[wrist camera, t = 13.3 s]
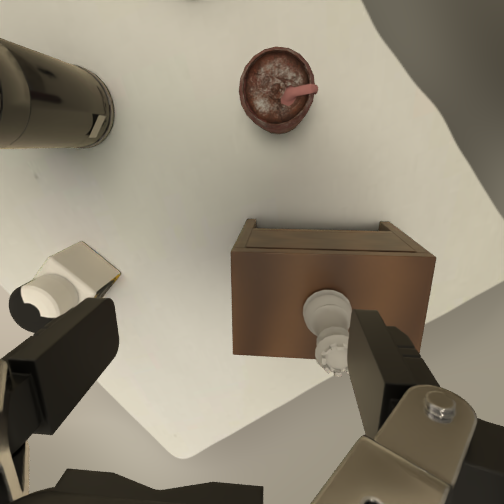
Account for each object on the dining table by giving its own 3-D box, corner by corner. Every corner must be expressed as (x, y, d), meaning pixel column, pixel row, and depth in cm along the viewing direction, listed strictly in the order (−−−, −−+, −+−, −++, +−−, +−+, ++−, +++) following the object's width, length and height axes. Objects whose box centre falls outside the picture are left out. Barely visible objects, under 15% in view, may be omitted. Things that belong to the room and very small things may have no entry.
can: (310, 128, 40) (323, 121, 27) (258, 138, 41) (244, 135, 27) (304, 72, 38) (315, 34, 25) (249, 83, 39) (231, 52, 26)
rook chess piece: (343, 334, 32) (361, 393, 25) (297, 324, 32) (301, 380, 25) (356, 293, 31) (380, 342, 23) (308, 282, 31) (316, 328, 23)
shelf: (247, 295, 47) (232, 354, 34) (247, 218, 44) (230, 251, 31) (379, 300, 46) (417, 365, 32) (389, 221, 42) (436, 257, 29)
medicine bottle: (96, 305, 50) (41, 352, 39) (56, 274, 49) (-12, 313, 38) (122, 272, 48) (72, 312, 37) (81, 239, 47) (17, 270, 36)
